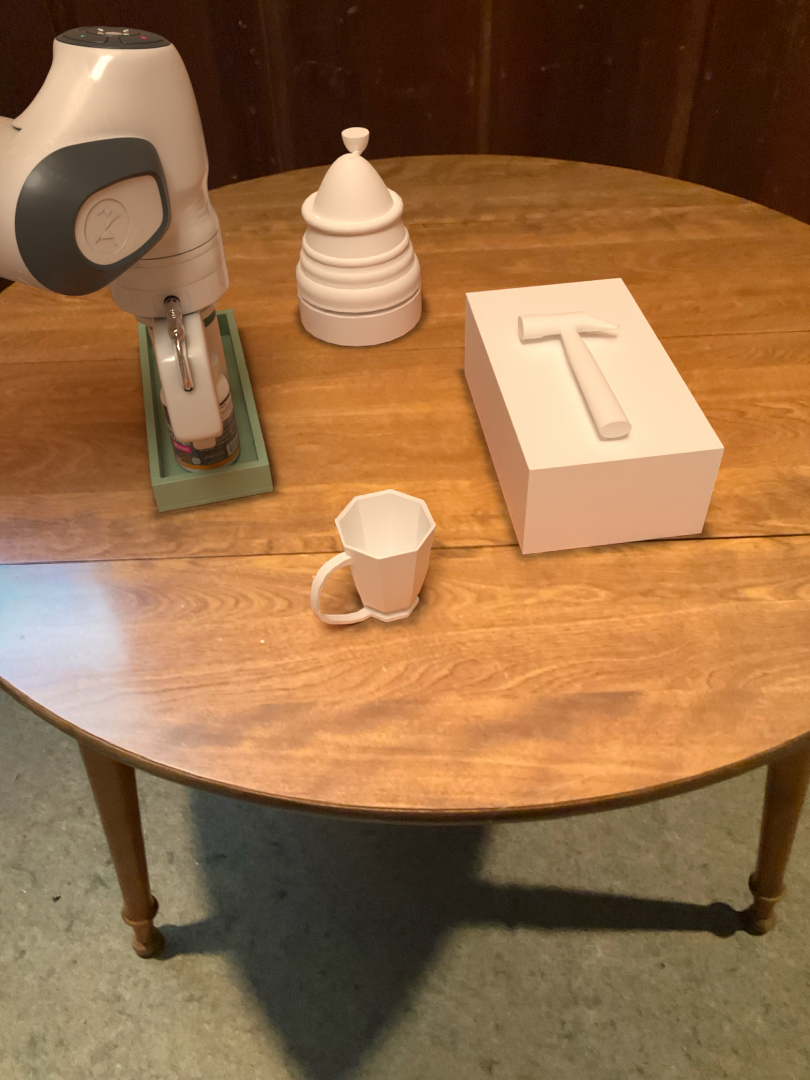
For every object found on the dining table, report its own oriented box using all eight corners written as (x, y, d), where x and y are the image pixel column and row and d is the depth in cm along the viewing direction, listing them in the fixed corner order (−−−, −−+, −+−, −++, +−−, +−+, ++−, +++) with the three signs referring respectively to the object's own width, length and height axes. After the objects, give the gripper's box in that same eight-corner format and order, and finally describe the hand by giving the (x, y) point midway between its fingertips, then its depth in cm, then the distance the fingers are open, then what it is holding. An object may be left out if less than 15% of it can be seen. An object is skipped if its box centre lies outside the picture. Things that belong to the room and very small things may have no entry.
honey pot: (324, 276, 104) (307, 110, 91) (435, 289, 101) (433, 120, 88) (282, 337, 95) (257, 163, 83) (402, 353, 92) (395, 175, 80)
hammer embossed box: (609, 357, 91) (624, 254, 83) (701, 533, 73) (731, 422, 65) (464, 372, 90) (466, 269, 82) (522, 554, 72) (531, 444, 64)
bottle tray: (273, 491, 78) (269, 464, 76) (159, 512, 77) (151, 485, 75) (237, 333, 96) (232, 307, 94) (143, 348, 94) (136, 322, 92)
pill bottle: (164, 454, 81) (138, 358, 74) (220, 427, 84) (200, 332, 77) (197, 486, 78) (173, 389, 71) (254, 457, 81) (237, 361, 74)
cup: (456, 604, 69) (457, 525, 63) (347, 674, 64) (338, 596, 59) (397, 552, 73) (393, 474, 67) (291, 615, 68) (277, 537, 63)
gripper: (224, 333, 62) (254, 489, 71) (197, 204, 76) (225, 348, 86) (128, 348, 61) (171, 504, 70) (119, 214, 75) (156, 359, 85)
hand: (200, 417), depth 78 cm, fingers closed on pill bottle, 6 cm apart
